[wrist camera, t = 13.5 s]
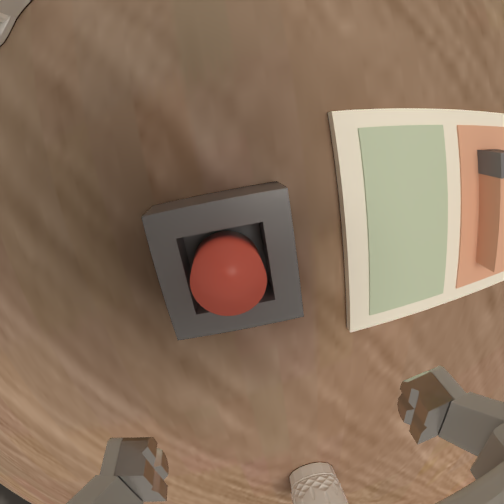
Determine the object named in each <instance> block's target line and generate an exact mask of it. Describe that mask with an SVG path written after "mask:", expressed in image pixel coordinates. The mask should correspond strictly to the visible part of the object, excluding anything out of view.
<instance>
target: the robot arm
mask: <svg viewBox="0 0 504 504" xmlns="http://www.w3.org/2000/svg"><path fill="white" fill-rule="evenodd" d="M30 1H31V0H0V45H1V44H2V43H3V42H4V41H5V39H6V38H7V36H8V34H9V32H10V30H11V28H12V26H13V24H14V22H15V20H16V18H17V17H18V15H19V14H20V13H21V11H22V10H23V9H24V8H25V7H26V6H27V4H28V3H29V2H30ZM400 390H401V392H402V394H401V395H400V397H399V398H398V404H397V405H398V411H399V414H400V417H401V418H402V420H403V422H405V423H407V424H409V425H410V430H409V432H410V433H411V435H412V436H413V438H414V440H415V441H416V443H417V444H420V443H422V442H424V441H426V440H429V439H431V438H433V437H435V436H437V435H439V437H441V438H443V439H445V440H446V441H448V442H450V443H452V444H454V445H456V446H458V447H460V448H462V449H464V450H466V451H468V452H470V453H472V454H474V455H476V456H478V457H477V459H476V460H475V462H474V463H473V465H472V467H471V469H470V471H471V472H472V474H473V476H474V477H475V479H476V480H475V481H474V482H472V483H470V484H469V485H467V486H466V487H464V488H462V489H461V490H459V491H457V492H455V493H454V494H452V495H450V496H448V497H447V498H445V499H443V500H441V501H439V502H437V503H435V504H504V402H501V401H498V400H494V399H491V398H488V397H485V396H482V395H478V394H475V393H472V392H468V393H466V392H465V391H464V390H463V389H462V387H461V386H460V385H459V384H458V383H457V382H456V381H455V380H454V378H453V377H452V376H451V375H450V374H449V373H448V372H447V371H446V369H445V368H444V367H442V366H438V367H436V368H433V369H431V370H429V371H426V372H423V373H421V374H419V375H416V376H414V377H412V378H409V379H407V380H404V381H403V382H402V383H401V386H400ZM168 469H169V467H168V461H167V458H166V455H165V453H164V452H163V450H161V449H159V448H157V442H156V440H155V439H154V437H137V438H110V439H109V441H108V443H107V446H106V450H105V454H104V458H103V463H102V467H101V471H100V475H96V476H95V477H94V478H93V479H91V480H90V481H89V482H88V483H87V484H86V485H85V486H84V487H83V488H82V489H81V490H80V491H79V492H78V493H77V494H76V495H75V496H74V497H73V498H72V499H71V500H70V501H68V502H67V503H66V504H143V502H156V501H167V487H168V485H167V484H166V483H165V482H164V479H165V478H166V477H167V476H168Z"/></svg>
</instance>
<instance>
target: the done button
mask: <svg viewBox="0 0 504 504" xmlns="http://www.w3.org/2000/svg"><path fill="white" fill-rule="evenodd" d="M266 286H267V274H266V270H265V268H264V265H263V262H262V260H261V257H260V254H259V252H258V249H257V247H256V246H255V244H254V243H253V242H252V241H251V240H250V239H249V238H248V237H246V236H245V235H243V234H241V233H238V232H234V231H220V232H216V233H214V234H211V235H209V236H208V237H206V238H205V239H204V240H203V241H202V242H201V243H200V244H199V246H198V247H197V249H196V252H195V255H194V259H193V264H192V269H191V274H190V287H191V291H192V294H193V296H194V298H195V299H196V301H197V302H198V303H199V304H200V305H201V306H202V307H203V308H204V309H206V310H207V311H209V312H211V313H214V314H217V315H221V316H234V315H239V314H242V313H245V312H247V311H249V310H250V309H252V308H253V307H254V306H255V305H257V304H258V302H259V301H260V300H261V298H262V297H263V295H264V293H265V290H266Z"/></svg>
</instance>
